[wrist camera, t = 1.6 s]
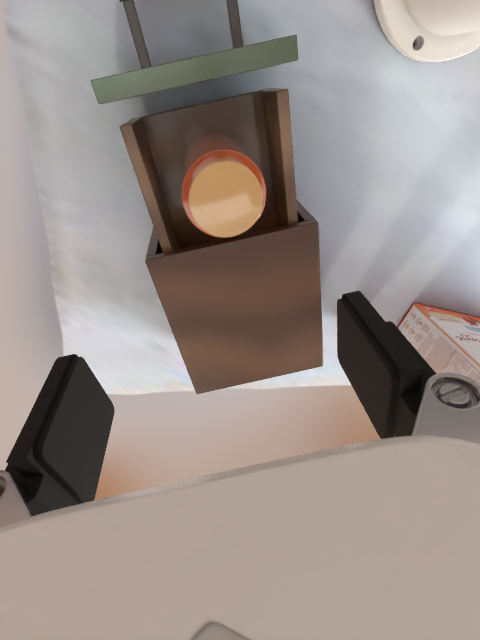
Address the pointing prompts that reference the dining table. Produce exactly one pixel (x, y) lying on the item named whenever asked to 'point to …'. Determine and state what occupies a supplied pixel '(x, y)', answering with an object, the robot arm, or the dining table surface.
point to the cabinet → (244, 303)
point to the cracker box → (444, 339)
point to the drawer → (206, 129)
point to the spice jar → (221, 185)
